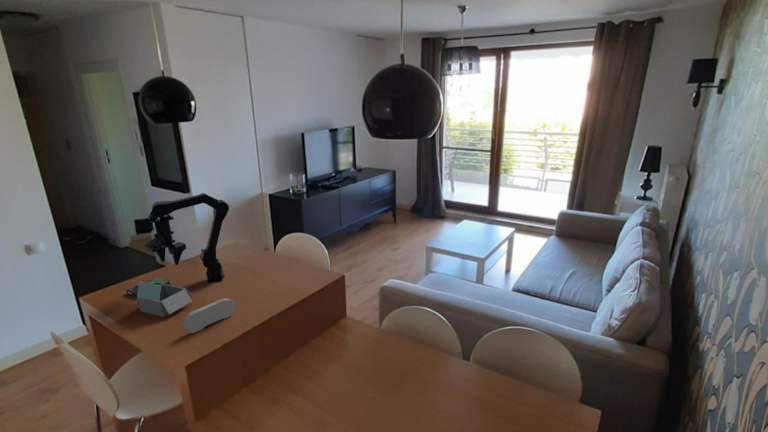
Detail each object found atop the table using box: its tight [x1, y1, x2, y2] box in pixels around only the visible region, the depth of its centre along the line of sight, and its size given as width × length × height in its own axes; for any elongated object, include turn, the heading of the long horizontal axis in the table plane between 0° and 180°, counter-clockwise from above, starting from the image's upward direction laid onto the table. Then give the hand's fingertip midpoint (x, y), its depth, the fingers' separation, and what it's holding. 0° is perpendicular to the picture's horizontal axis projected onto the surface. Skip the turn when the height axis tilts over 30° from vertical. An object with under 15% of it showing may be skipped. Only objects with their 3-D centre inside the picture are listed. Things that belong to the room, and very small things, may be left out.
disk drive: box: [125, 277, 171, 299], centre depth 181 cm, size 10×3×15 cm
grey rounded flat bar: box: [182, 297, 235, 334], centre depth 149 cm, size 20×2×8 cm, turn 140°
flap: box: [137, 280, 161, 301], centre depth 157 cm, size 6×13×1 cm
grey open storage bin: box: [135, 284, 194, 319], centre depth 165 cm, size 15×20×7 cm
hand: (170, 263), depth 176 cm, fingers open, 9 cm apart
